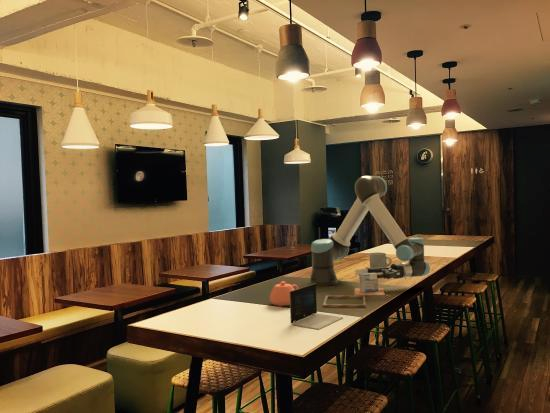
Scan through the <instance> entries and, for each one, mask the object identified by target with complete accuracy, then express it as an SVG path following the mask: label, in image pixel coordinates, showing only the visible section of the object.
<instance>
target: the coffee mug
mask: <svg viewBox="0 0 550 413" xmlns="http://www.w3.org/2000/svg"><path fill="white" fill-rule="evenodd" d="M387 259H388V260H389V263H388V262H387ZM392 264H393V260H392V257H391V256H389V255H387V253H386V252H379V251H378V252H370V253H369V268H380V267H385V268H386V267H390V266H391V265H392Z"/></svg>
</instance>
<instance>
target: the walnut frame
mask: <svg viewBox="0 0 550 413" xmlns="http://www.w3.org/2000/svg"><path fill="white" fill-rule="evenodd" d="M328 299H362V304H353V303H352V304H346V303H345V304H343V303H342V304H340V303H339V304H337V303H336V304H335V303H333V304H332V303H331V304H329V303H328ZM322 303H323V304H322V308H366V306H367V305H366V295H325V297H324V300H323V302H322Z"/></svg>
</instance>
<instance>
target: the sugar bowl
mask: <svg viewBox="0 0 550 413" xmlns="http://www.w3.org/2000/svg"><path fill="white" fill-rule="evenodd" d="M294 287H296V288H294ZM296 289H299V285H297V284H290V283H286V281H280V282H279V284H278V283H276V284H275V285H274V286H273V288H272V289H271V292H270V295H269V302H271V304H272V305H274V306H278V307H279V308H282V307H284V306H290V291H293V290H296Z"/></svg>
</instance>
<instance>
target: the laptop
mask: <svg viewBox="0 0 550 413" xmlns="http://www.w3.org/2000/svg"><path fill="white" fill-rule="evenodd" d="M317 306H318V303H317V286H316V283H314V284H308V285H306V286H302V287H298V289H296V288H295V289H294V290H293V291H290V305H289V308H290V309H289V312H290V317H289V318H290V324H291V326H295V327H296V326H297V327H301V328H306V329H313V330H321V329H323V328H325V327H327V326H329V325H331V324H333V323H336V322H338V321H340V320H342V319H344V317H343V316H336V315H332V314H323V313H318V310H317V309H318V308H317Z"/></svg>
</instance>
